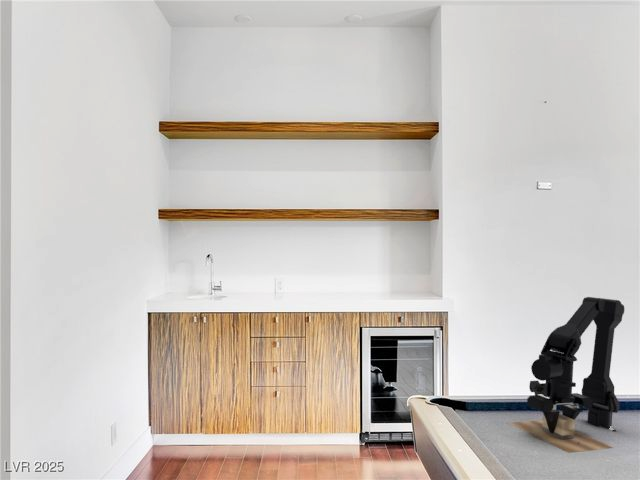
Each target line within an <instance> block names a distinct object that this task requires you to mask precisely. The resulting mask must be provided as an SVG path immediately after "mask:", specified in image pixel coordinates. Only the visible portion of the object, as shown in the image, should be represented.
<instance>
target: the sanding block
mask: <svg viewBox="0 0 640 480" xmlns="http://www.w3.org/2000/svg"><path fill="white" fill-rule="evenodd" d="M542 420H543V426H542V430H543V431H545V432H548V433H550V432H549V428H548V425H547V422H546V418H545V416H544V413H543V412H542ZM575 423H576V419H575V420H574V419H571V418H569V417H566V416H564V415H562V414H561V413H560V414H559V417H558V421H557V424H556V428H555V431H554V433H553V434H552V433H550V434H552V435H554V436H556V437H558V438H560V439H569V438H574V431H575V425H576V424H575Z"/></svg>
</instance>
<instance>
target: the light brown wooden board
mask: <svg viewBox="0 0 640 480" xmlns="http://www.w3.org/2000/svg"><path fill="white" fill-rule="evenodd" d="M508 424H510V425H511V426H513V427H515V428H517V429H519V430H522V431H523V432H526V433H527V434H530V435H532V436H534V437H536V438H537V439H539V440H542V441H544V442H546V443H548V444H549V445H551V446H554V447H556V448H558V449H559V450H562V451H564V452H566V453H568V454H570V453H571V454H572V453H579V452H588V451H596V450H599V451H600V450H606V449H614V447H613V446H611V445H608V444H607V443H604V442H602V441H599V440H598V439H595V438H594V437H593V438H592V437H590V436H588V435H585V434H583V433H581V432H578V431H577V430H574V438H569V439H560V438H558V437H556V436H554V435H552V434H550V433H548V432H545V431H543V430H542V426H543V419H542V420H541V419H539V420H538V419H537V420H528V421H515V422H508Z"/></svg>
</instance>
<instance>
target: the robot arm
mask: <svg viewBox="0 0 640 480" xmlns="http://www.w3.org/2000/svg"><path fill="white" fill-rule="evenodd" d="M624 314H625V306H624V304H622V302H621V301H620V300H618V299H611V298H610V299H609V298H604V297H603V298H602V297H593V296H592V297H591V296H586V297H584V298H583V299H582V301H581V304H580V305H579V307H578V308H577V310H576V311H575V312H574V313H573V314H572V316H571V317H570V318H569V320H568V321H567V322H566V323H565V324H564V325H560V326H558V327H556V328H555V329H554V330H553V331H551V332H550V333H549V335H548V337H547V339H546V341H545V343H544V345H543V347H542V349H541V351H540V354H538V358H537V359H535V360H534V361H533V362H532V365H530V366H531V368H530V369H531V373H532V375H533V376H534V378H536V380H530V381H529V386H528V387H529V391H530V393H534V395H529V396H528V397H527V399H526V406H528V407H530V408H532V409H535V410H537V411H539V412H542V414H543V413H544V416H545V418H546V422H547V425H548V428H549V432H550V433H552V434H553V433H554V431H555V428H556V424H557V421H558V417H559V414H561V413H562V415H564V416H566V417H569V418H571V419H574V420H575V421H576V418H577V417H579V415H580V414H581V413H582V412H583V411H584V409H588V412H587V421H586V423H587V424H589V425H592V426H594V427H601V428H604V429H606V430H608V429H609V428H610V426H612V425H613V424H612V422H613V421H612V420H613V413H615V414H617V413H619V410H620V406H621V405H620V404H621V403H620V401H619V400H618V398H617V395H616V394H615V385H614V383H613V381H612V379H611V377H610V375H611V374H610V373H611V364H612V354H613V345H614V337H615V329H616V328H617V327H618V326H619V325H620V324H621V323H622V320H623V315H624ZM592 322H594V324H595V326H596V328H595V329H596V330H595V338H594V346H593V355H592V364H591V372H590V374H589V375H588V376H587V377H584V378H583V380H582V381H583V382H582V388H581V393H578V392H576V393H573V392H572V391H573V388H574V387H576V382H573V376H574V375H573V374H574V362H577V361H578V358H577V357H576V356H575V355H576V354H577V352H578V351H579V349H580V347H581V345H582V338H581V337H582V335H583V334H584V333H585V332H586V330H587V329H588V328H589V326H590V325H591V323H592ZM539 381H542V382H543V381H545V383H540V382H539ZM580 405H581V406H582V409H581V408H580ZM557 406H559V407H560V409H561V411H562V412H561V411H559V410H558V409H557Z"/></svg>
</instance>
